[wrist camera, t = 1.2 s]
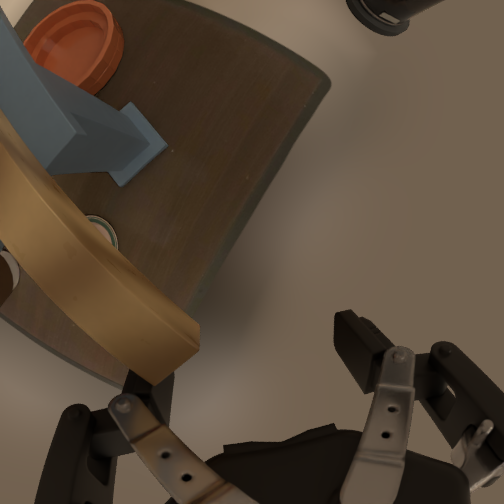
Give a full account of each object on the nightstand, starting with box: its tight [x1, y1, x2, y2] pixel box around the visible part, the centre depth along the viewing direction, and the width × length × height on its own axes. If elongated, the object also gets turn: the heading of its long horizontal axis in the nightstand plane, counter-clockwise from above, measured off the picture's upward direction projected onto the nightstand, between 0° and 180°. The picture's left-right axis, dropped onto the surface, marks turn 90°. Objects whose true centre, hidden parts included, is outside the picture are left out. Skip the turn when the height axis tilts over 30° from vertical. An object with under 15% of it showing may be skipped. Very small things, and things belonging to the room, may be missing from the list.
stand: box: [0, 6, 168, 252], centre depth 19 cm, size 12×8×28 cm, turn 38°
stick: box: [0, 109, 200, 386], centre depth 7 cm, size 18×4×2 cm, turn 42°
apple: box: [86, 216, 118, 250], centre depth 32 cm, size 8×8×6 cm
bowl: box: [23, 0, 124, 96], centre depth 24 cm, size 16×16×6 cm
